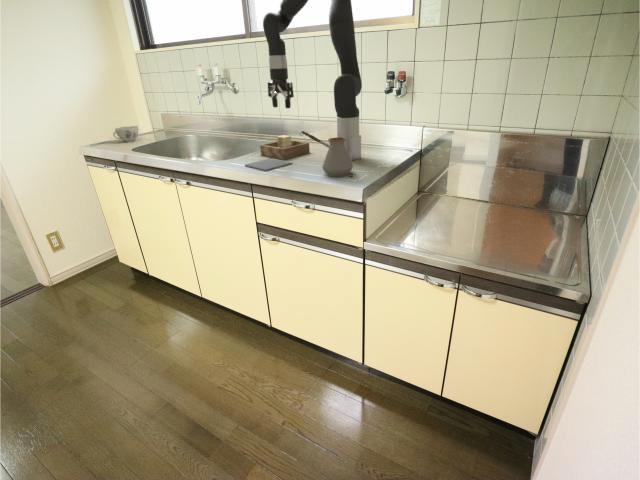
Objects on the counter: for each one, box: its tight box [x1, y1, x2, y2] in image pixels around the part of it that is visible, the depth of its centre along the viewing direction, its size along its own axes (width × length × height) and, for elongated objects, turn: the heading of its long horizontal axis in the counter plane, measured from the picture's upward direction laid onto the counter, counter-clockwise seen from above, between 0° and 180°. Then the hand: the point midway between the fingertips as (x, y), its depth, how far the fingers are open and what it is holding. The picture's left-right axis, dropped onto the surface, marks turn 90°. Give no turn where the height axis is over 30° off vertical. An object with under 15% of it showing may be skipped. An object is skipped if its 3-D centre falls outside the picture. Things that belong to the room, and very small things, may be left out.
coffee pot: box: [299, 130, 354, 178], centre depth 141 cm, size 21×12×15 cm, turn 59°
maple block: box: [276, 134, 292, 148], centre depth 175 cm, size 4×4×8 cm
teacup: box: [112, 125, 139, 143], centre depth 222 cm, size 15×12×8 cm
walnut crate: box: [259, 139, 310, 161], centre depth 175 cm, size 16×16×4 cm
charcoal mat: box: [244, 157, 293, 172], centre depth 158 cm, size 14×14×1 cm
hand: (281, 107), depth 167 cm, fingers open, 8 cm apart
